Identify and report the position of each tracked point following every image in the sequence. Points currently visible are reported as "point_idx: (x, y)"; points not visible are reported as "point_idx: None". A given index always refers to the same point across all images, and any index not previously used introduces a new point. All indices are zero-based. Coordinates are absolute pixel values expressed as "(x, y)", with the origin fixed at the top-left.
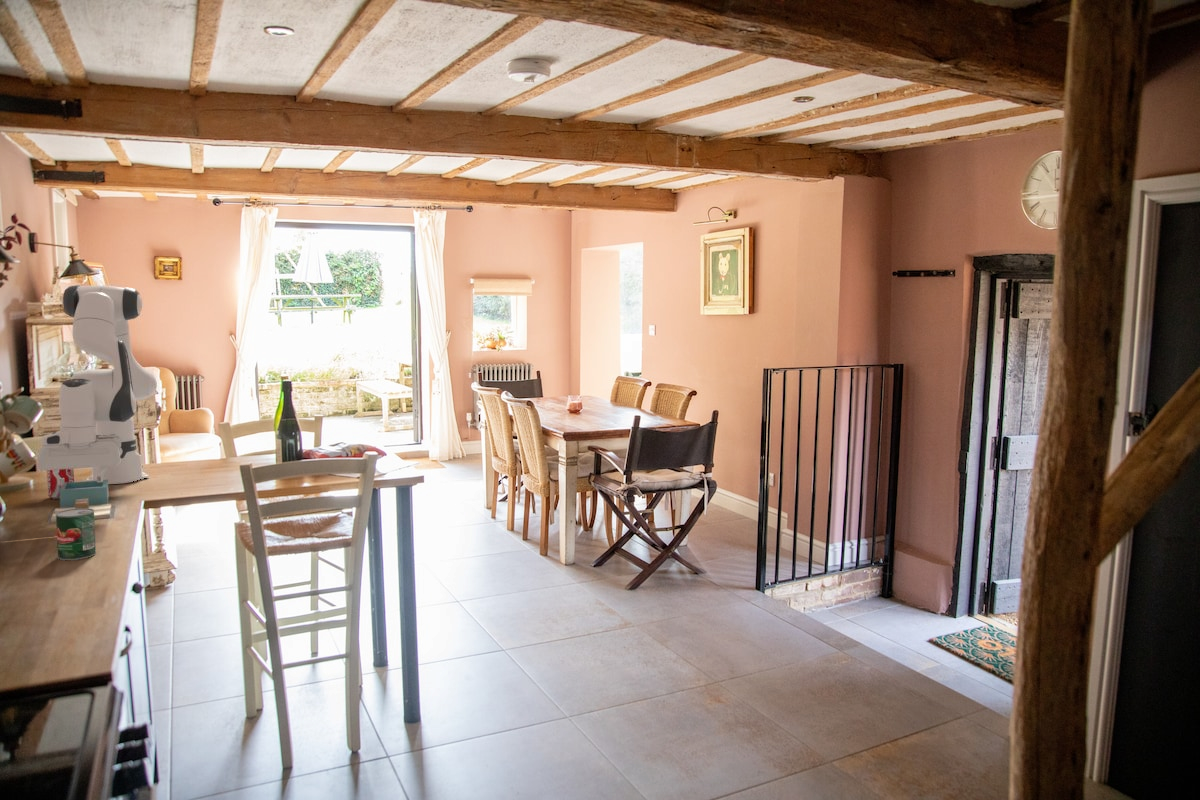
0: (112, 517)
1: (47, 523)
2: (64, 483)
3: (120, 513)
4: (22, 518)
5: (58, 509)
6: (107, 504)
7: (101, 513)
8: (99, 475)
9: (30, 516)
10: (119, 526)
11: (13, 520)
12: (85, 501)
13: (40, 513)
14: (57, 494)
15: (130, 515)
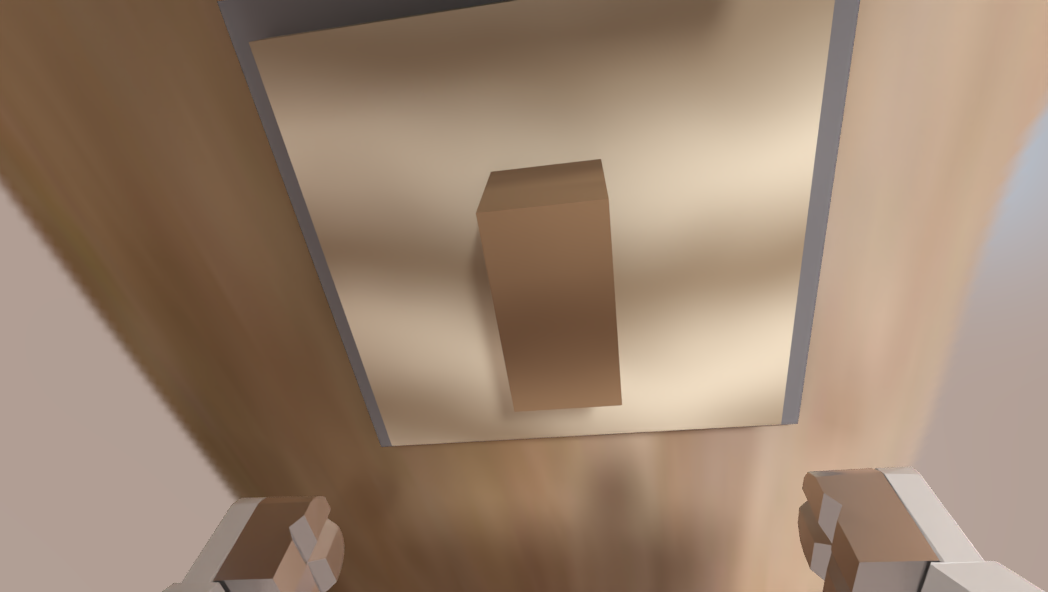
0: (789, 410)
1: (381, 434)
2: (320, 499)
3: (868, 245)
4: (91, 186)
5: (310, 122)
6: (793, 1)
7: (721, 389)
8: (909, 569)
9: (112, 126)
10: (807, 563)
11: (65, 236)
12: (597, 351)
13: (130, 10)
14: None
15: (930, 338)
